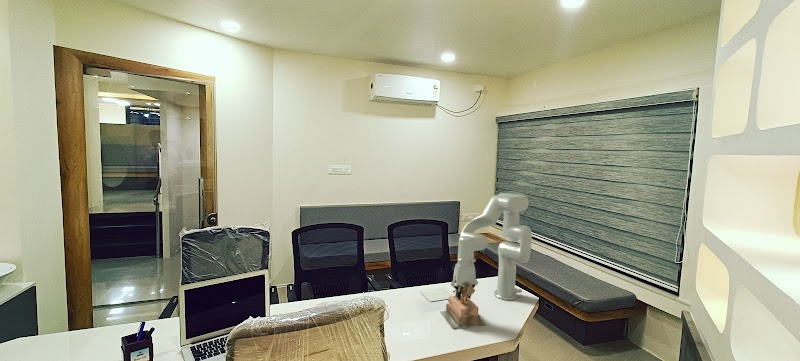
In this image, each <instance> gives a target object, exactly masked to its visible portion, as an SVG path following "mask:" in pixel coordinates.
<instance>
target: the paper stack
mask: <svg viewBox="0 0 800 361" xmlns="http://www.w3.org/2000/svg"><path fill="white" fill-rule="evenodd" d="M419 292H420V293H421V294H422V295H423V296H424V297H425V298H426V299H427V300H428V301H429V302H436V301H443V300H449V296H455V294H453V293H452V292H450V291H449V290H448V289H447V288H446V287H441V288H433V289H426V290H425V289H424V290H420V291H419Z"/></svg>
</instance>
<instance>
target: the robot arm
mask: <svg viewBox="0 0 800 361" xmlns="http://www.w3.org/2000/svg"><path fill="white" fill-rule="evenodd" d="M529 203H530V202H529V199H528V197H527V196H526V195H523V194H517V193H509V192H501V193H499V194H495V195H492V196H491V197H490V199H489V201H488V202H487V203H486V205H485V207H484V209H483V211H482V212H481V214H479V215H478V216H476V217H475V218H473V219H472V220H470V221H468V222H467V223H466V225H464V227H463V229H462V231H461V232H460V235H459V238H458V245H457V246H458V247H457V263H455V265H454V270H453V278H452V281H451V283H450V286H451V287H452V288H454V290H457V292H456V291H455V293H456V296H457V298H458V299H459V300H461V295H462V294H461V291H460V290H461V286H466V285H472V288H473V289H475V288H476V286H477V285H478V284H479V281H478V280H477V279H476V268H475V267H476V266H475V264H474V263H475V262H476V261H477V259H476V258H475V252H476V251H477V252H478V251H484V250H486V248H488V245H489V241H488V238H487V237H486V236H485V235H482V234H479V233H476V231H477V230H479V229H481V228H482V229H483V228H488V227H492V226H495V225H496V224H497V222H498V220H499V218H500V216H501V214H502V213H503V214H502V215H503V219H502V220H503V223H502V234H501V235H502V237H503V238H504V239H506V240H509V241H505V240H504V241H501V242H500V243H499V244H498V246H497V254H498V272H497V285H496V286H497V289H496V290H495V291H494V293H493V294H494V296H495V297H496V298H497V299H500V300H504V301H515V300H517V299H518V295H517V294H519V293H520V294H521V293H523V290H522V288H517V287H516V276H517V265H516V262H517V263H520V264H521V263H522V264H525V263H527V262H528V261H530V257H531V250H532V239H533V233H532V232H533V231H532V229H531V228H530V227H529V226H527V225H523V224H522V225H521V224H520V212H524V211H525V210H526V209H528V207H529ZM510 241H511V242H510ZM512 241H513V242H512ZM515 242H517V243H515ZM471 297H472V295H471V296H469V297H468V298H469V299H470V300H471Z"/></svg>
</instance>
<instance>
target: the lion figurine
mask: <svg viewBox="0 0 800 361" xmlns="http://www.w3.org/2000/svg"><path fill="white" fill-rule="evenodd" d="M460 291H461V295H462V303H464V297H465V301H467V302H468V300H467V297H469V296H471V297H472V295H473V294H475V291H476V289H475V288H472V285H465V286H461V290H460ZM452 292H453V293H454V296H455V297H457V296H456V292H457V290H456V289H454V290H453V291H452Z"/></svg>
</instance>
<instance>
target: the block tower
mask: <svg viewBox="0 0 800 361" xmlns="http://www.w3.org/2000/svg"><path fill="white" fill-rule="evenodd" d="M467 300H468V302H467V301H465V297H464V303H462V294H461V300H459V299H458V298H457V297H455V295H454V296H449V299H448V303H446V304H445V310H441V311H440V312H439V313H440V314H441V316H442V317H443V319H444V320H445V321H446V323H448V324H449V327H450V328H452V330H456V329H467V328H476V327H484V326H485V327H487V323H486V322H485V321H483V319H482V318H481V315H480V314H479V306H478V305H476V304H475V302H473V300H471V299H469V298H468V297H467Z"/></svg>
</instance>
